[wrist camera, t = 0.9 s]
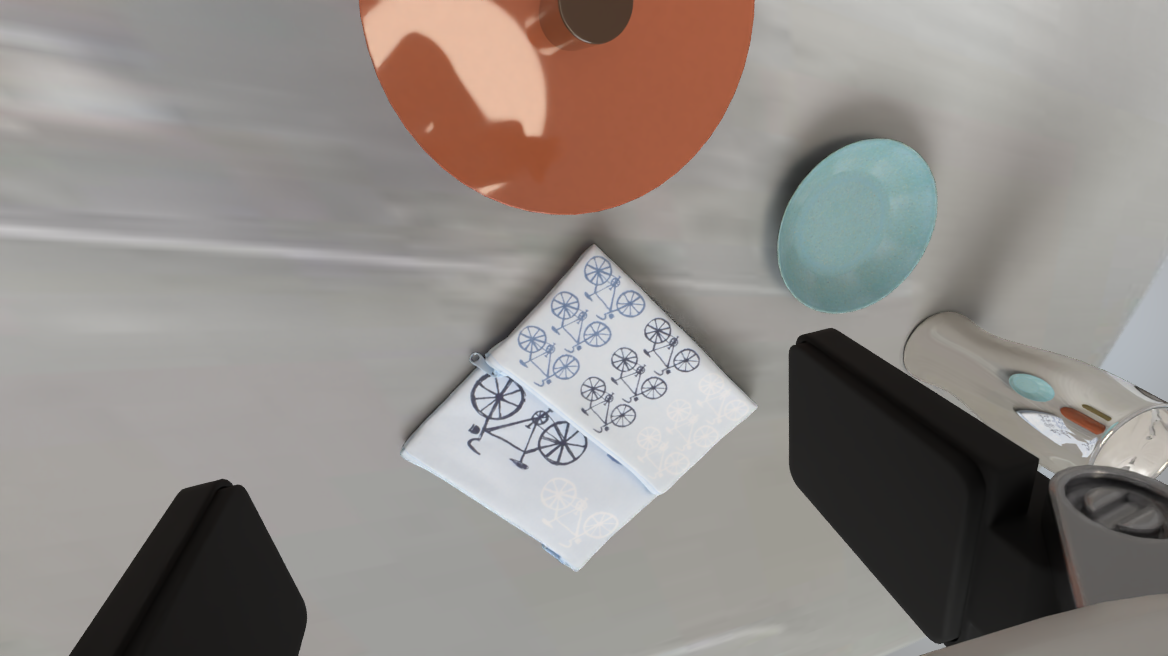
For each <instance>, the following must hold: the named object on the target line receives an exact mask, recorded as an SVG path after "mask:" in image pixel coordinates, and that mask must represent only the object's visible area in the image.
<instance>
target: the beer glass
mask: <svg viewBox="0 0 1168 656" xmlns="http://www.w3.org/2000/svg"><path fill="white" fill-rule="evenodd" d="M904 364H905V367H906V369H907V371H908V372H909V373H910V375H912V376H913V377H914V378H916V379H918V380H920V381H923V382H925V383H928V384H931V385H933V386H936V387H939V388H941V389H943V390H945V391H946V392H948V393H950V394H951V395H953V396H954V397H956V398H957V399H958V400H959V401H960V402H962V403H963V404H964V405H965V406H966V407H967V408H968V409H969V410H971V411H972V412H973V413H974V414H975V415H976V416H977V417H978V418H979V419H980V420H981V421H982V422H983V423H985V424H986V425H987V426H989V427H990V428H992V429H993V430H995V431H997V432H998V433H1000V434H1001V435H1003V436H1004V437H1006V438H1008V439H1009V440H1011V441H1012V442H1014V443H1015V444H1017V445H1019V446H1020V447H1022V448H1023V449H1025V450H1026V451H1028V452H1030V453H1031V454H1033V455H1034V456H1036V457H1038V458H1039V463H1038V464H1039V465H1041V466H1043V467H1044V468H1046V469H1048V470H1049V471H1051V472H1053V473H1055V474H1056V473H1057V472H1058V471H1061V470H1063V469H1066V468H1068V467H1072V466H1081V465H1099V466H1110V467H1115V468H1120V469H1124V470H1129V471H1133V472H1136V473H1139V474H1142V475H1145V476H1148V477H1151V478H1153V479H1155V478H1157V477H1158V476H1159V475H1160V474H1161V473H1162V472H1163V471H1164V470H1165V469H1166V468H1167V466H1168V402H1166V401H1164V400H1162V399H1160V398H1158V397H1156V396H1154V395H1152V394H1150V393H1149V392H1147V391H1145V390H1143V389H1141V388H1139V387H1137V386H1135V385H1134V384H1132V383H1130V382H1128V381H1126V380H1124V379H1122V378H1120V377H1117V376H1115V375H1113V374H1111V373H1109V372H1107V371H1105V370H1103V369H1100V368H1098V367H1095V366H1093V365H1090V364H1088V363H1085V362H1083V361H1080V360H1078V359H1074V358H1071V357H1068V356H1065V355H1062V354H1058V353H1055V352H1051V351H1047V350H1044V349H1040V348H1036V347H1032V346H1028V345H1024V344H1020V343H1017V342H1013V341H1009V340H1006V339H1003V338H1000V337H998V336H995V335H993V334H991V333H989V332H987V331H985V330H984V329H982V328H981V327H979V326H978V325H977V324H975V323H974V322H973V321H971V320H970V319H969V318H967V317H966V316H964V315H962V314H960V313H957V312H951V311H947V312H941V313H938V314H935V315H933V316H931V317H929V318H928V319H926V320H925V321H923V322H922V323H921V324H920V325H919V326H918V327H917V328H916V329H915V330H914V332H913V333H912V334H911V336H910V338H909V339H908V341H907V344H906V347H905V350H904Z"/></svg>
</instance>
